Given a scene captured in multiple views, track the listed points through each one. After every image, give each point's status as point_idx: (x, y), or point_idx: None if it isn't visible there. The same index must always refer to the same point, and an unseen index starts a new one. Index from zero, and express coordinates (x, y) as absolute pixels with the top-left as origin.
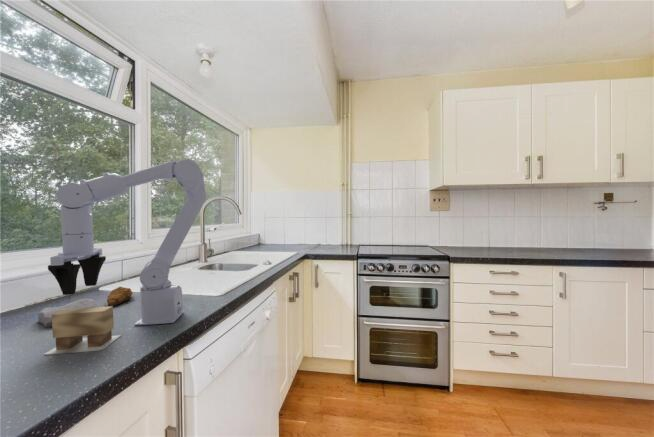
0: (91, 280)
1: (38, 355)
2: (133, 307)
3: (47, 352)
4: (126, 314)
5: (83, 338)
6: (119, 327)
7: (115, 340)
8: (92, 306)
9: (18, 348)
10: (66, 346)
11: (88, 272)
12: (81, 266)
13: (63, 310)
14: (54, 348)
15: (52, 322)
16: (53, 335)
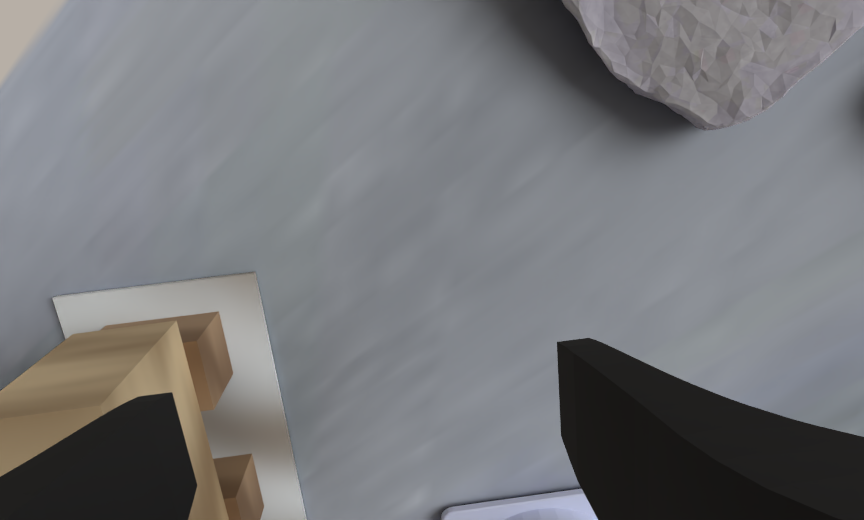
0: (583, 448)
1: (52, 265)
2: (832, 280)
3: (74, 300)
4: (676, 326)
5: (263, 354)
6: (435, 433)
7: None
8: (740, 91)
9: (126, 34)
10: None
11: (647, 495)
12: (718, 480)
13: (76, 428)
14: (124, 296)
15: (5, 389)
16: (64, 344)
